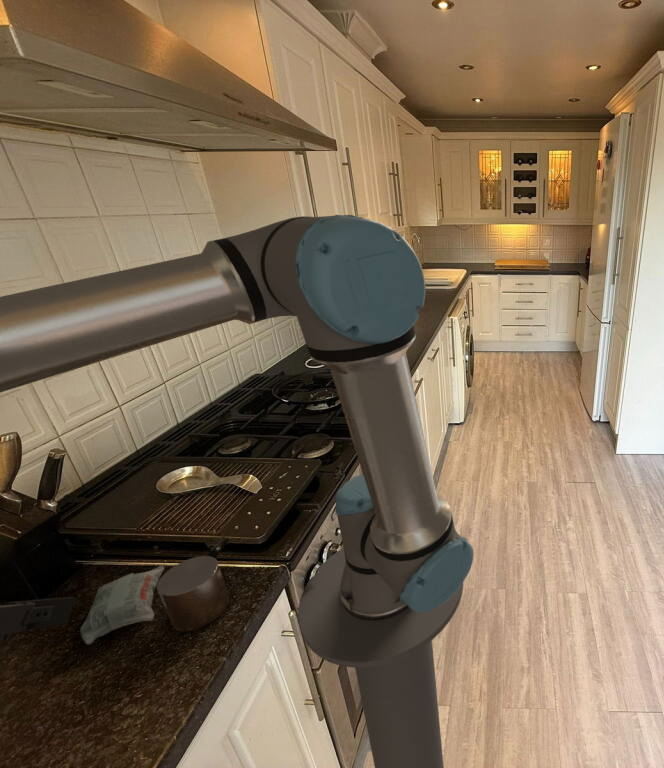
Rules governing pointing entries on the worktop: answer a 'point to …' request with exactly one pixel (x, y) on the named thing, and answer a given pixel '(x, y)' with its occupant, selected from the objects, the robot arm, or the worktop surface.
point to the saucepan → (194, 591)
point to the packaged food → (121, 604)
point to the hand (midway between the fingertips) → (64, 610)
